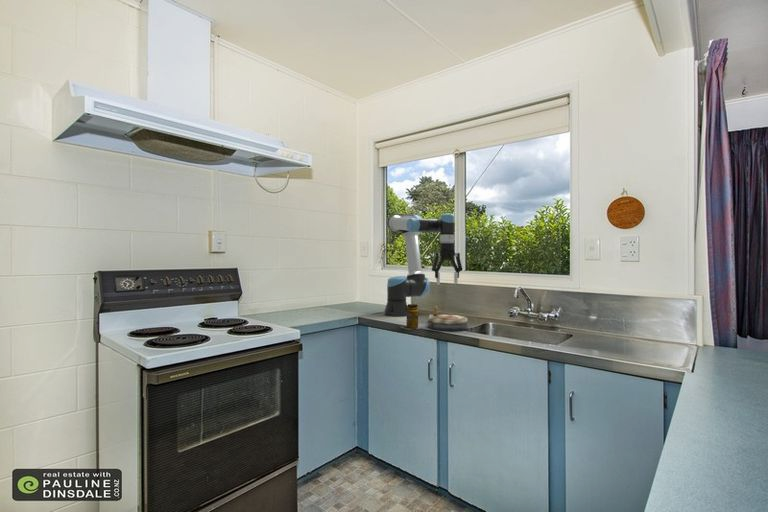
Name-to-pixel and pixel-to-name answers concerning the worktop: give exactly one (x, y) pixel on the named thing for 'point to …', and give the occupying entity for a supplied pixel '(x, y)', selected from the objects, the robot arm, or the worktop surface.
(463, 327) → the turntable base
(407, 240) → the robot arm
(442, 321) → the turntable
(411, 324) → the condiment
